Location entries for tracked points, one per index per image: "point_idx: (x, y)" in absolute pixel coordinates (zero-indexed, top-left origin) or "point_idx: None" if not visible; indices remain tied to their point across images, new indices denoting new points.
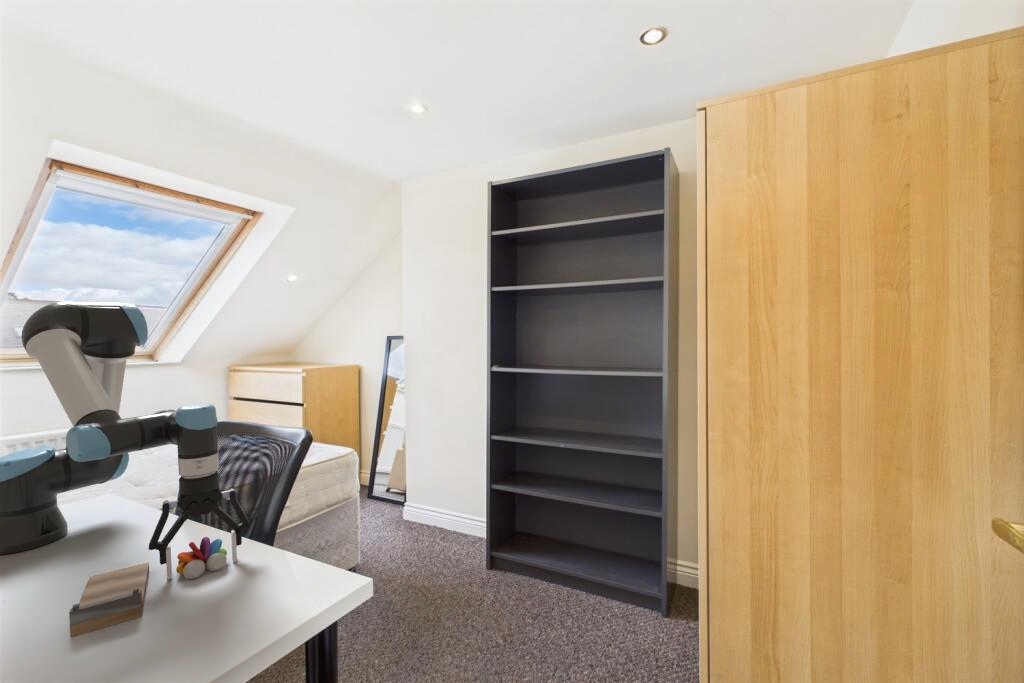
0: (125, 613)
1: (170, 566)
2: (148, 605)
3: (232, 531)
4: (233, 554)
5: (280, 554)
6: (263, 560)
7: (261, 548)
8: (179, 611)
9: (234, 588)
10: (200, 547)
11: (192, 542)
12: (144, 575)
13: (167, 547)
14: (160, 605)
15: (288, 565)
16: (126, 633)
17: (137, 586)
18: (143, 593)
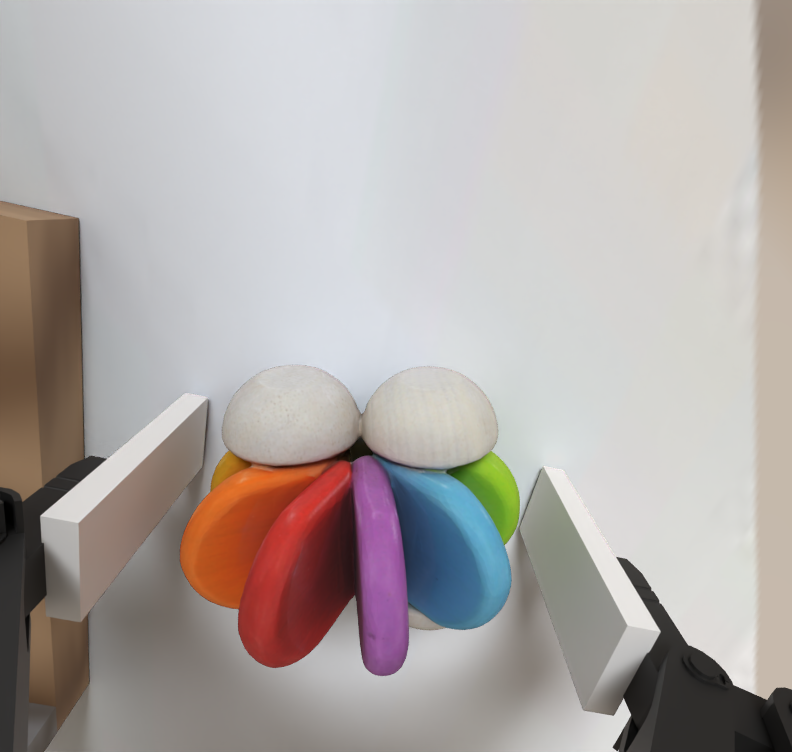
0: None
1: (162, 512)
2: (107, 625)
3: (624, 648)
4: (534, 566)
5: (735, 609)
6: None
7: (728, 460)
8: (216, 739)
9: (424, 733)
10: (354, 516)
11: (262, 643)
12: (27, 439)
13: (54, 564)
14: (153, 657)
15: None
16: (50, 742)
17: None
18: (51, 641)
